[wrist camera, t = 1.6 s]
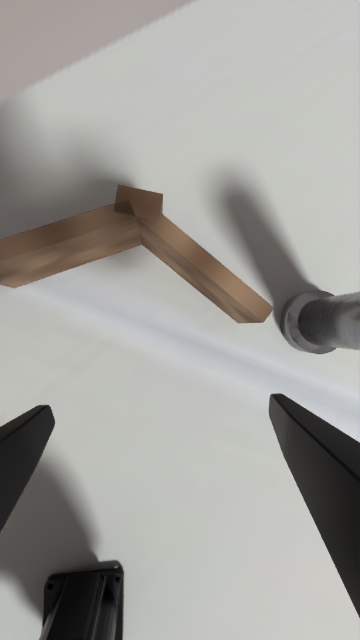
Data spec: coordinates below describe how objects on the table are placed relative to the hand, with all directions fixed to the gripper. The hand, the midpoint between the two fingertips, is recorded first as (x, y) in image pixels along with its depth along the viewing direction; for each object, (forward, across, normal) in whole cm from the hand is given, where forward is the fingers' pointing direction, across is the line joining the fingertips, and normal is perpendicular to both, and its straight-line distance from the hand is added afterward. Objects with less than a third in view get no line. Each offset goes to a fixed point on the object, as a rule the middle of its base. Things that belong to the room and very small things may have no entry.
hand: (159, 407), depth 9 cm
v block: (+13, +3, -4) cm, 14 cm away
